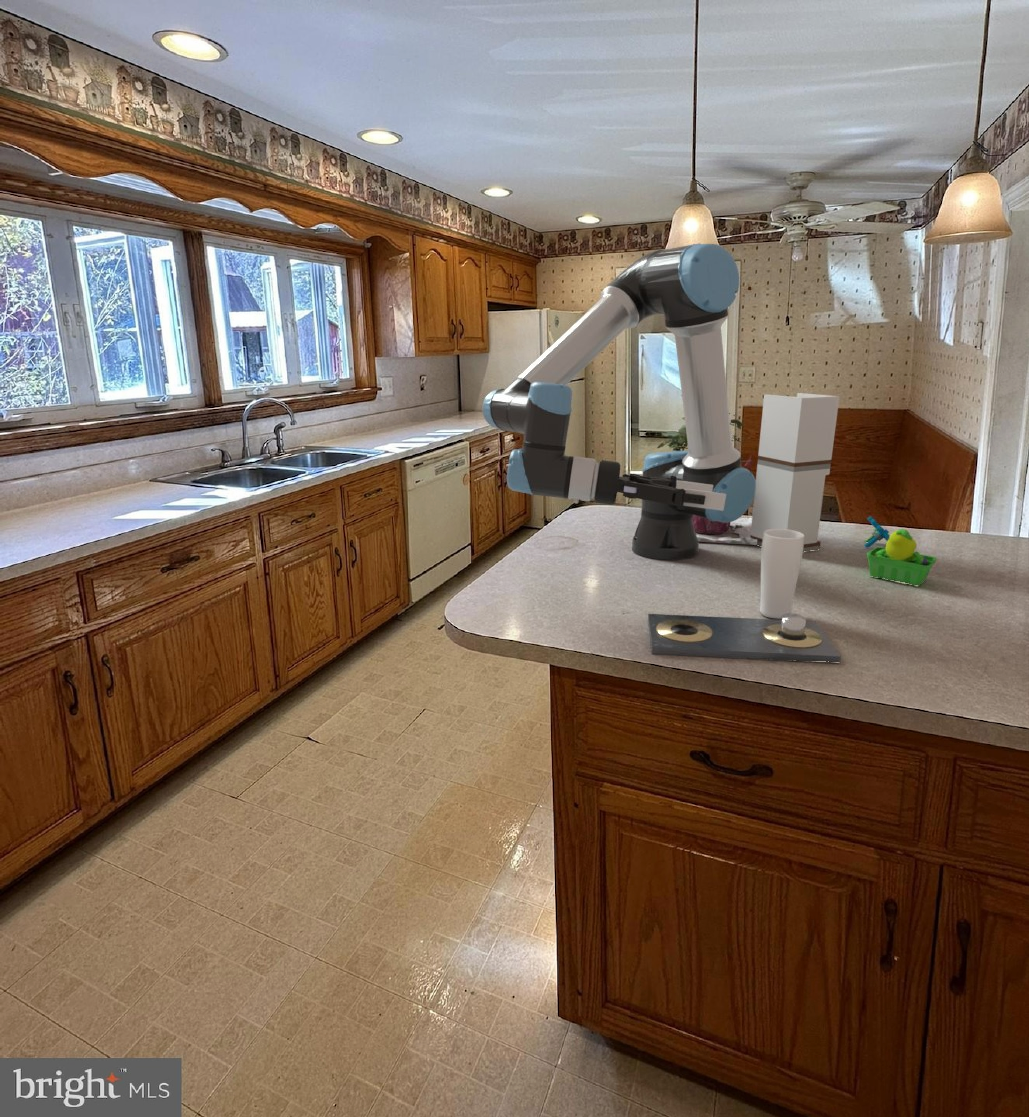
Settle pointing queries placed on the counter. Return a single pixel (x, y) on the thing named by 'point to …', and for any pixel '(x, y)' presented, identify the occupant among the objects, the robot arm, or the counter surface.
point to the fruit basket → (900, 560)
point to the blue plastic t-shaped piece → (876, 533)
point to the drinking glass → (779, 570)
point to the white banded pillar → (793, 464)
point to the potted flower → (703, 524)
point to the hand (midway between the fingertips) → (718, 497)
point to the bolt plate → (740, 638)
